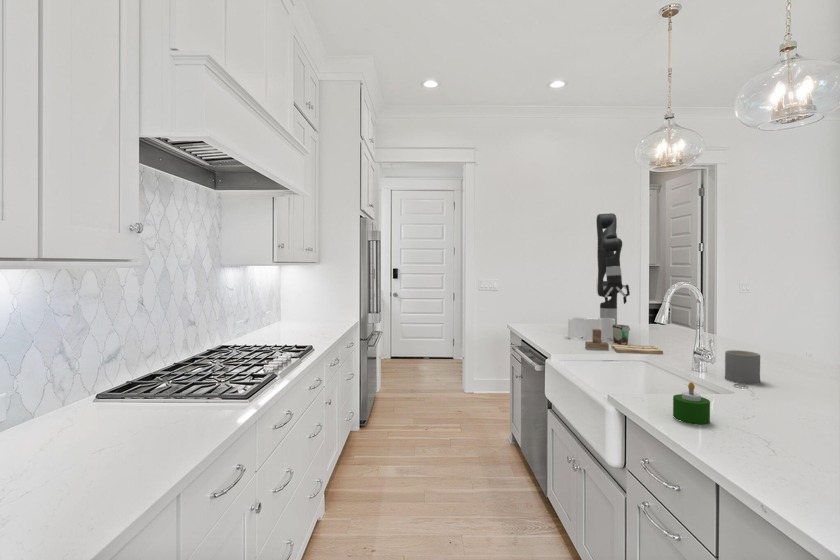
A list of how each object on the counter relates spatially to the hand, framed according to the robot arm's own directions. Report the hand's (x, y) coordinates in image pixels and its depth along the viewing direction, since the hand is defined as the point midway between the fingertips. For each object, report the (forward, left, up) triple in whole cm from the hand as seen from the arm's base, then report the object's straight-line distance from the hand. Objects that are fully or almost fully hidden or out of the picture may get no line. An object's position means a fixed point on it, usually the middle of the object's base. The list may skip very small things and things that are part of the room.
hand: (615, 304), depth 228 cm
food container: (+5, +3, -21) cm, 22 cm away
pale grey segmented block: (-9, -11, -22) cm, 26 cm away
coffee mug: (+73, +28, -21) cm, 81 cm away
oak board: (+23, +5, -21) cm, 32 cm away
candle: (+122, -5, -21) cm, 124 cm away
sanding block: (+23, -13, -21) cm, 34 cm away
